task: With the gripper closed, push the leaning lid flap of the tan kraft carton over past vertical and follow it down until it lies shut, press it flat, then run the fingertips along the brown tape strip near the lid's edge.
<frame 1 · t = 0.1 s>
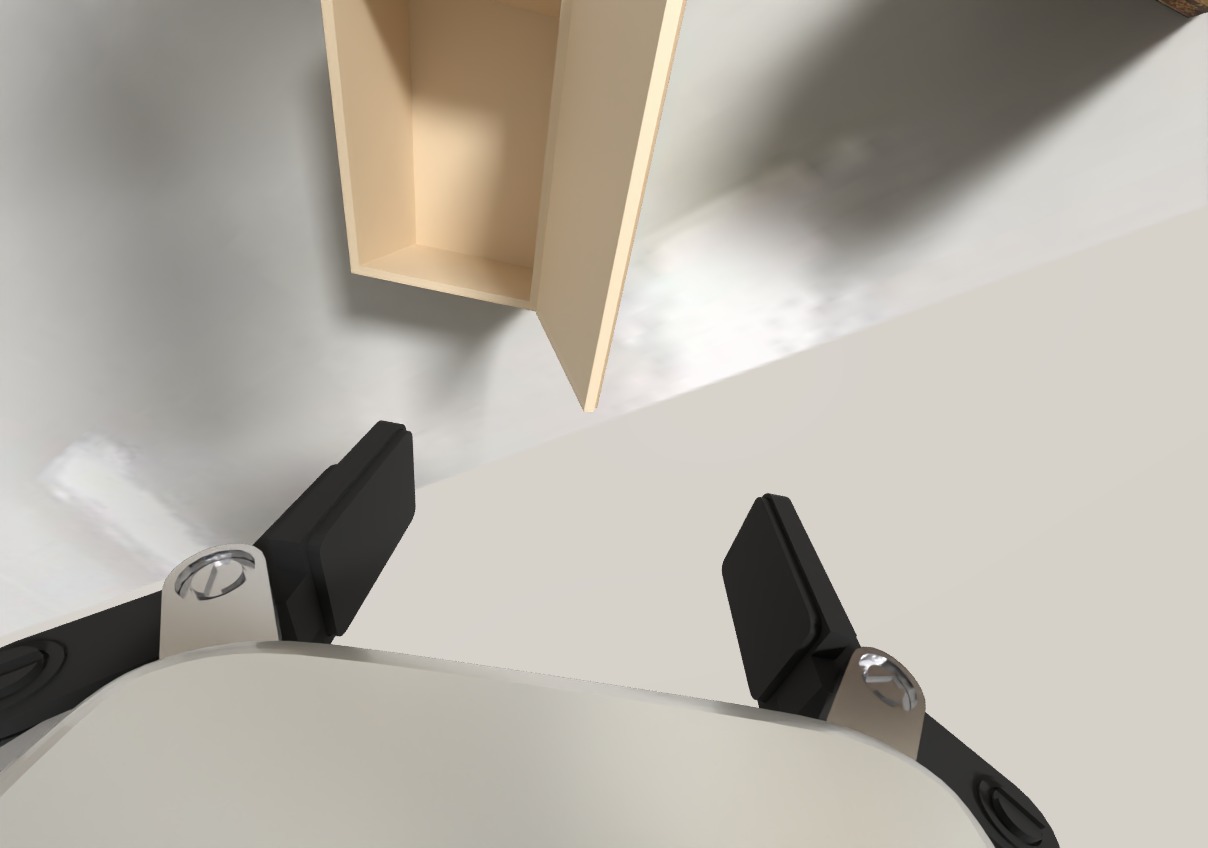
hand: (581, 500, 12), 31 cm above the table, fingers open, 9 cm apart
lid: (586, 180, 20), point 16 cm above the table, hinge at 110.0°
carton: (490, 147, 34), on the table
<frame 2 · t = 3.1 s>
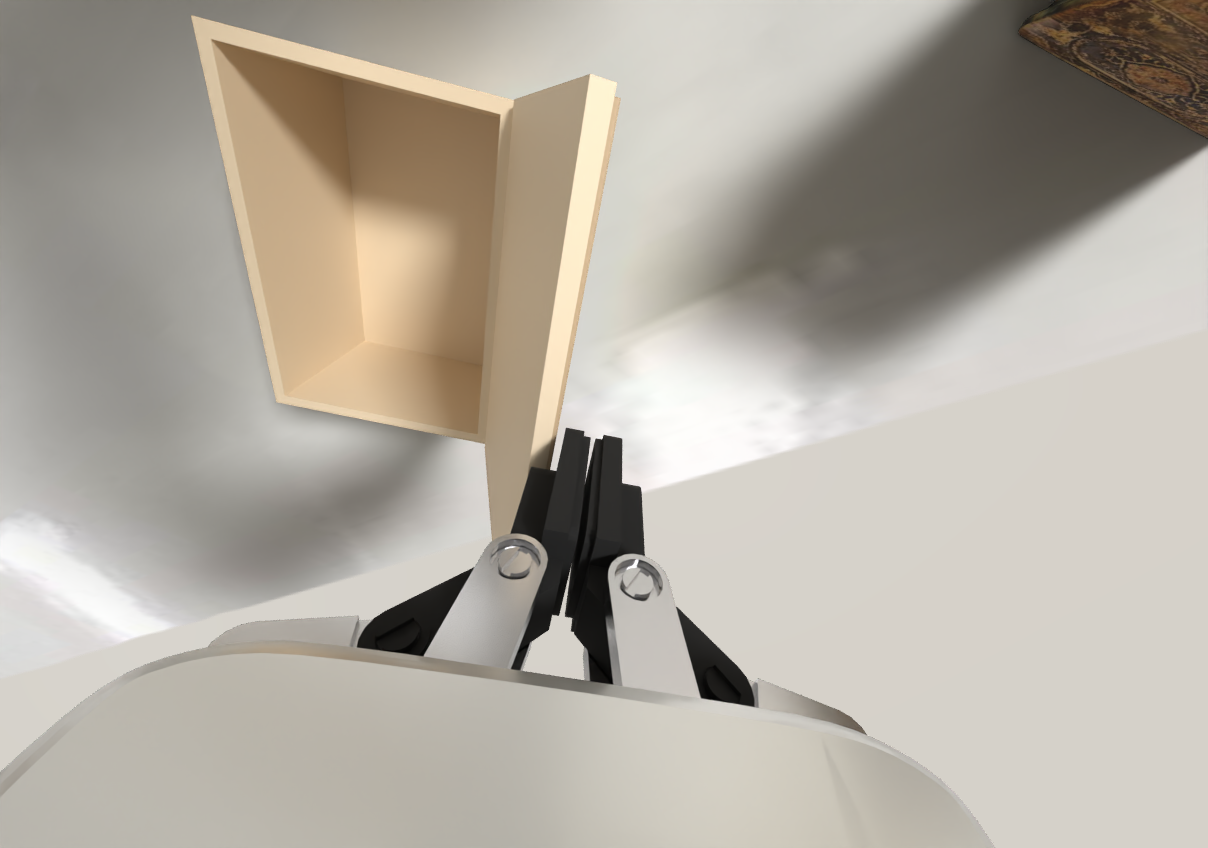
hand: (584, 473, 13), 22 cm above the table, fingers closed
book: (1164, 33, 23), on the table
lid: (515, 367, 17), point 16 cm above the table, hinge at 108.3°, touching gripper
carton: (443, 247, 31), on the table
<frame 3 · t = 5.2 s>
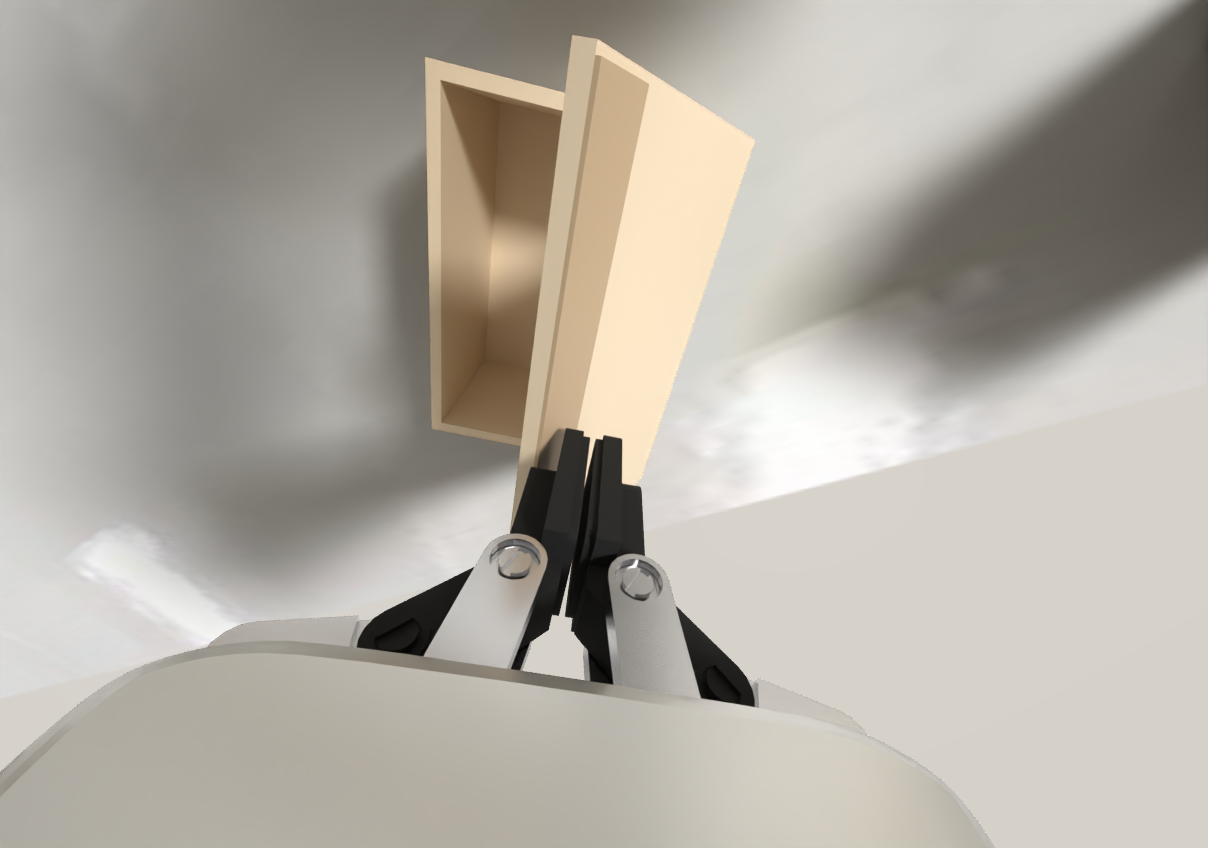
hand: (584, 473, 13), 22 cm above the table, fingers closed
lid: (629, 384, 17), point 16 cm above the table, hinge at 63.8°, touching gripper
carton: (575, 267, 30), on the table
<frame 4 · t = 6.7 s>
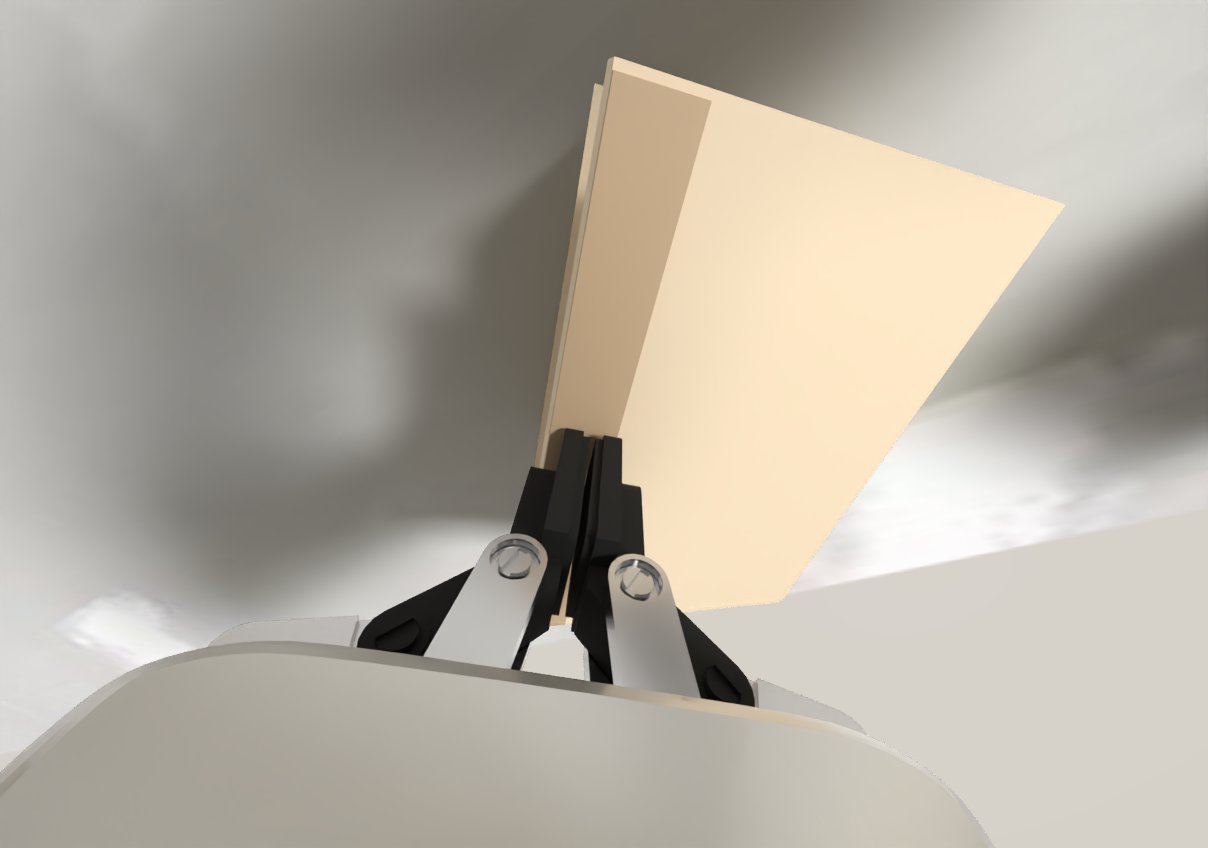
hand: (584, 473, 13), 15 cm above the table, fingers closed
lid: (734, 454, 14), point 13 cm above the table, hinge at 16.4°
carton: (683, 327, 25), on the table
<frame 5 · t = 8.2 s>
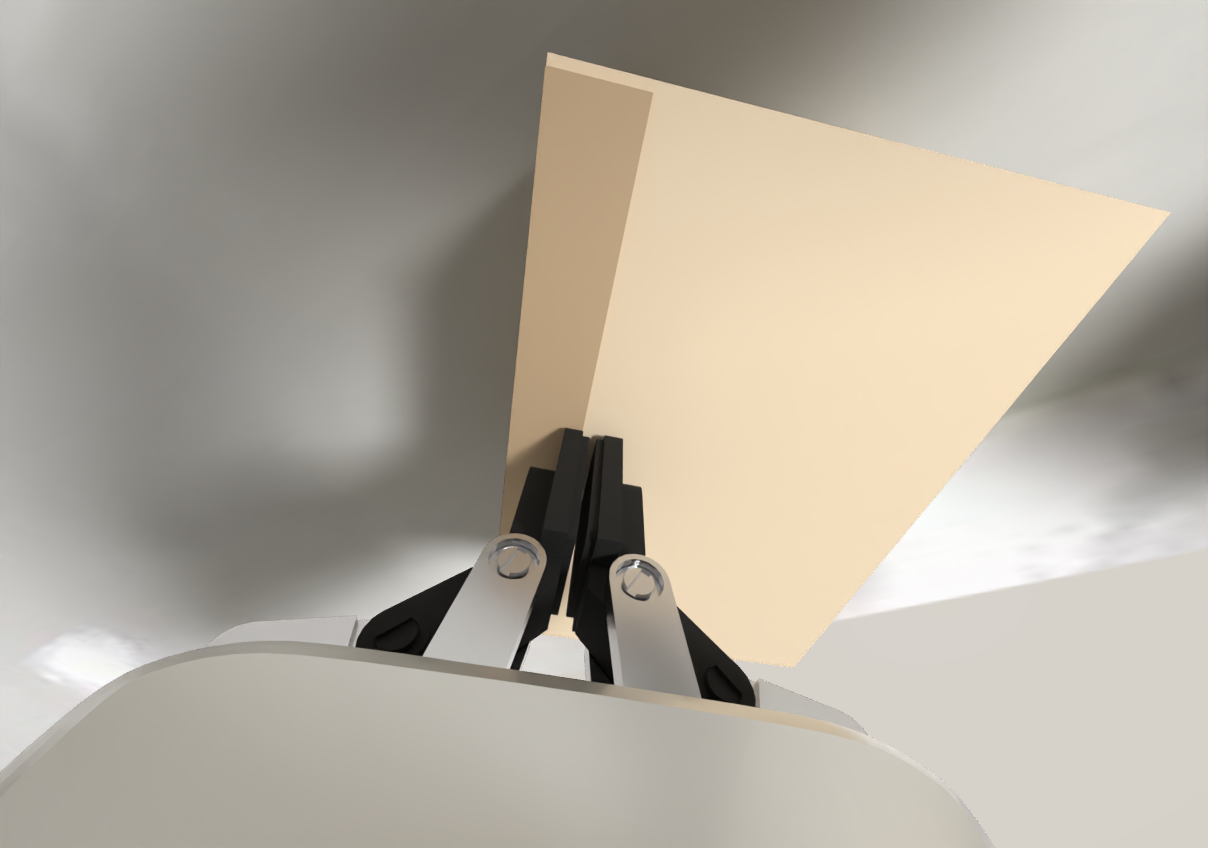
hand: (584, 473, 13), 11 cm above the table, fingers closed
lid: (720, 482, 13), point 11 cm above the table, hinge at 1.6°, touching gripper
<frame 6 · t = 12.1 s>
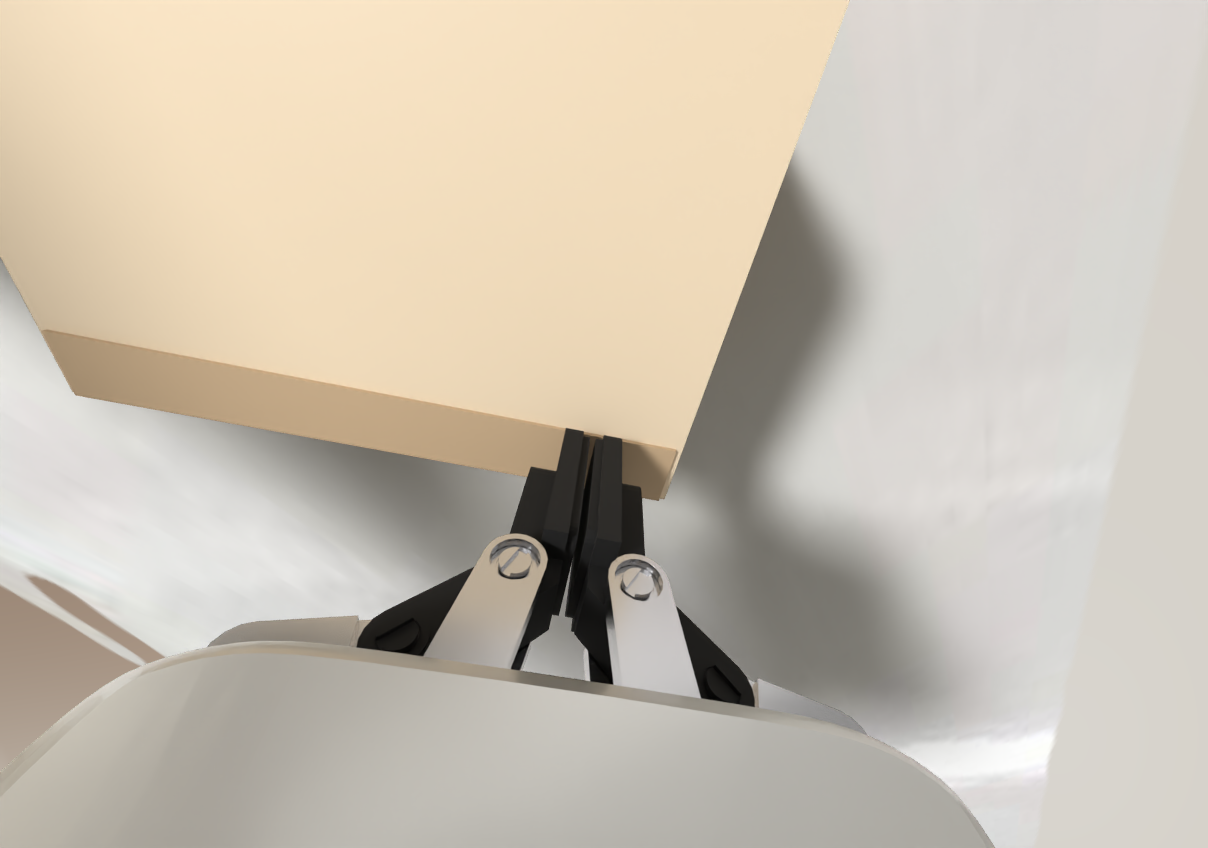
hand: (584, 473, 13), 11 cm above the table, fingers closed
lid: (365, 221, 10), point 11 cm above the table, hinge at -0.4°
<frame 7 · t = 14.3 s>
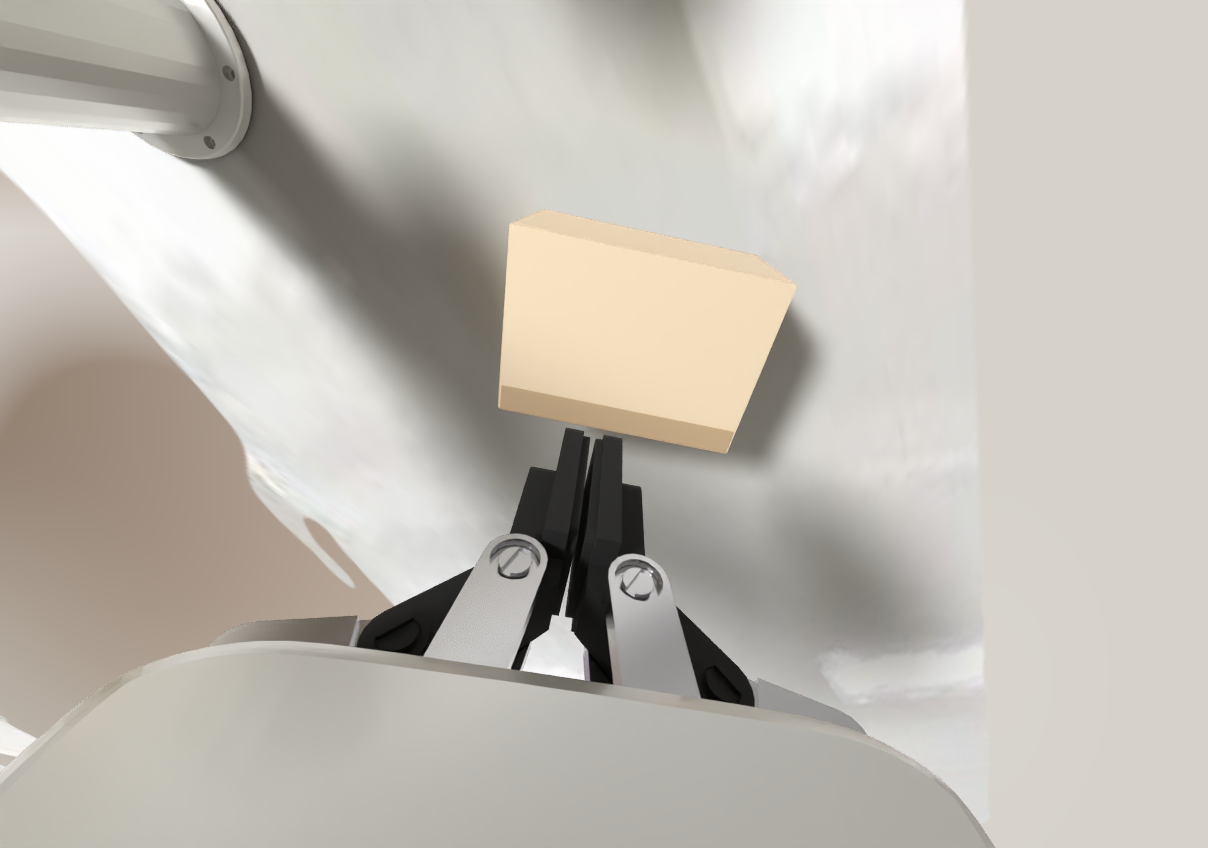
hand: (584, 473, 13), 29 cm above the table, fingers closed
lid: (631, 352, 29), point 11 cm above the table, hinge at -0.4°
carton: (633, 308, 39), on the table
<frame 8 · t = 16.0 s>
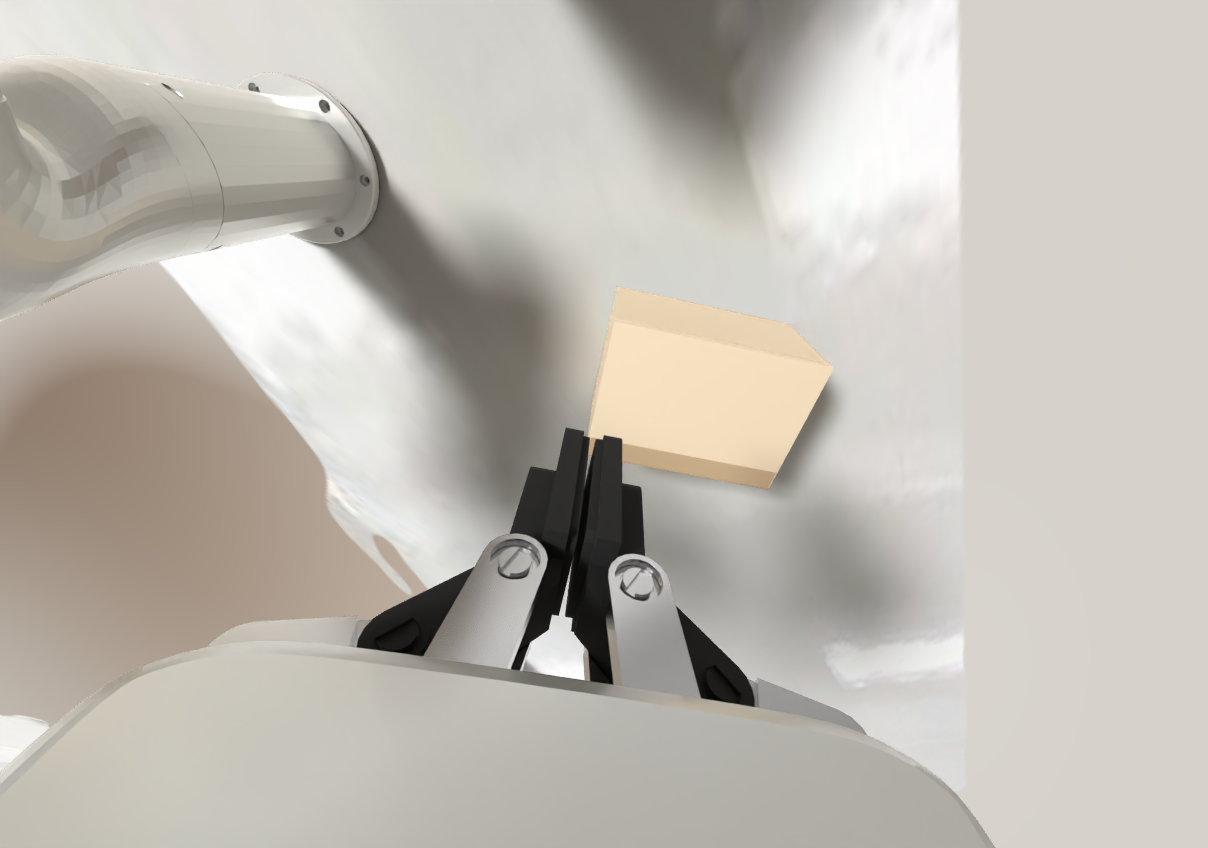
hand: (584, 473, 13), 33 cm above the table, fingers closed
lid: (699, 413, 37), point 11 cm above the table, hinge at -0.4°
carton: (685, 363, 46), on the table
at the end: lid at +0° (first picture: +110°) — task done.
